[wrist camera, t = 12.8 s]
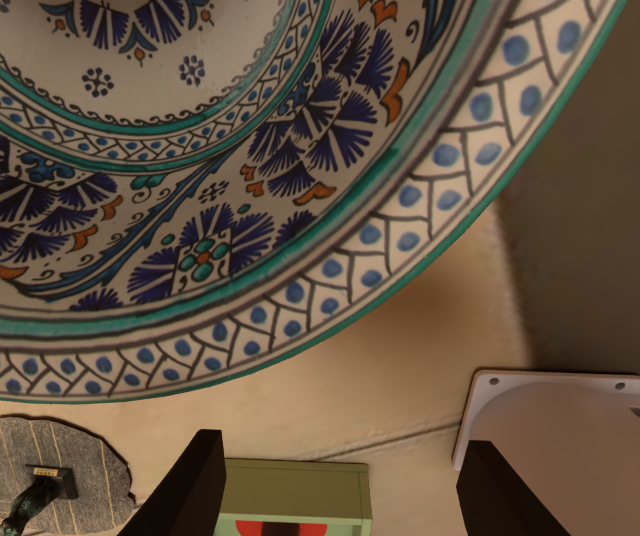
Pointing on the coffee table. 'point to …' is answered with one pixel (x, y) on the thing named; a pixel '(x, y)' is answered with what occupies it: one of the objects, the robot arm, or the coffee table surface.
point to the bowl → (249, 171)
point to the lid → (279, 528)
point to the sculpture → (59, 480)
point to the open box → (296, 495)
